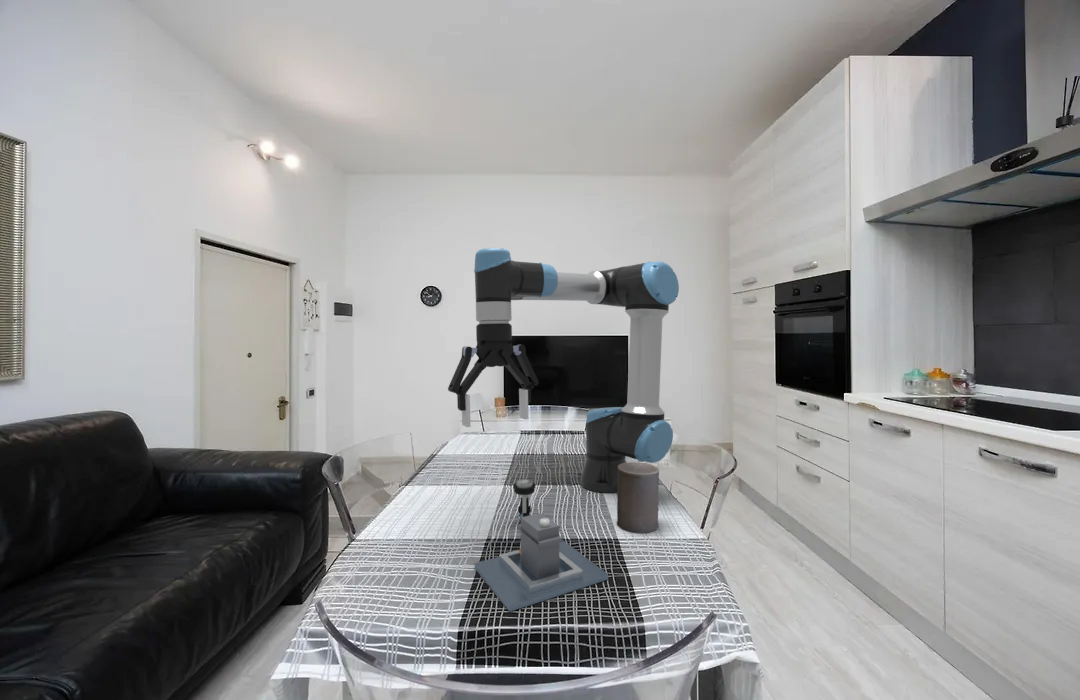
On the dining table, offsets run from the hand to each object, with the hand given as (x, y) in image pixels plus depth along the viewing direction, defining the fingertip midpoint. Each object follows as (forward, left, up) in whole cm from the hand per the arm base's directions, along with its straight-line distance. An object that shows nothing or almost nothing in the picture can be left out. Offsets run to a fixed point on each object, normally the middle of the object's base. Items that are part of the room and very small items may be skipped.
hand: (496, 422), depth 98 cm
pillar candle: (-33, +7, -27) cm, 43 cm away
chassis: (-2, +15, -26) cm, 31 cm away
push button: (-10, -7, -27) cm, 29 cm away
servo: (-2, +15, -25) cm, 30 cm away
